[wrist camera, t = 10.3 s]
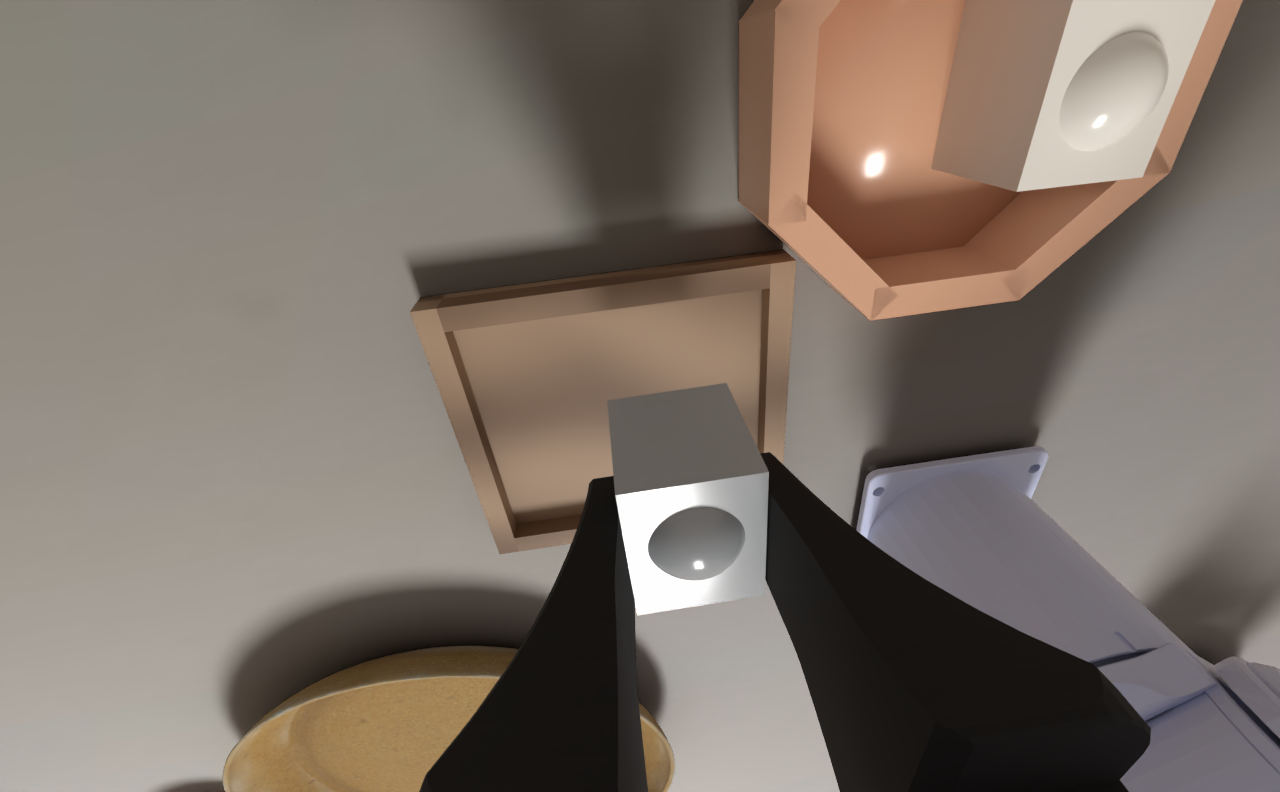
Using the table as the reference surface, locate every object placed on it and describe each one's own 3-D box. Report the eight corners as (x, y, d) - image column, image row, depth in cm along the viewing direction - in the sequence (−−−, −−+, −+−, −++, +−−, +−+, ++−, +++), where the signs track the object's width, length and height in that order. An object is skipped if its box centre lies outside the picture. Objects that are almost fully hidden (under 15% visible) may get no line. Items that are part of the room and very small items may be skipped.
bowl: (1045, 257, 18) (1122, 286, 16) (738, 298, 18) (764, 335, 15) (1198, -202, 12) (1360, -275, 10) (738, -152, 12) (781, -213, 9)
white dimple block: (1033, 157, 16) (1170, 182, 12) (930, 168, 15) (1038, 197, 12) (1085, -19, 13) (1275, -54, 10) (966, -7, 13) (1113, -38, 10)
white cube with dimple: (728, 494, 15) (773, 618, 11) (626, 510, 15) (640, 639, 11) (726, 382, 13) (779, 493, 9) (606, 400, 13) (616, 518, 9)
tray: (771, 493, 23) (779, 512, 22) (503, 532, 23) (499, 554, 22) (783, 249, 17) (795, 260, 16) (420, 297, 17) (410, 312, 16)
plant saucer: (496, 840, 41) (489, 897, 38) (172, 754, 30) (129, 825, 27) (740, 713, 34) (755, 771, 31) (436, 540, 23) (416, 605, 20)
